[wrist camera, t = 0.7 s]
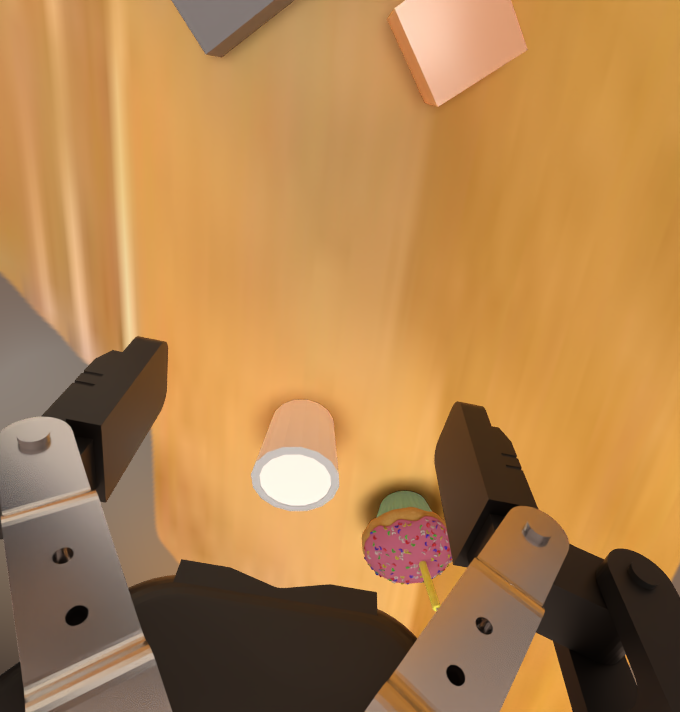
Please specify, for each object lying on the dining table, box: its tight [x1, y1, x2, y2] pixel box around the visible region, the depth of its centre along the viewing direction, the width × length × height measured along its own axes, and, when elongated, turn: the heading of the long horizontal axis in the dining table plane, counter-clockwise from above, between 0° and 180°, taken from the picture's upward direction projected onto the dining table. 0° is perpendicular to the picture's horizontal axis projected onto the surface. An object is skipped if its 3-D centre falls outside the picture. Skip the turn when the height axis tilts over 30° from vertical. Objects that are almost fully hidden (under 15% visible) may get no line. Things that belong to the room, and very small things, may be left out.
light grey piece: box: [251, 399, 339, 511], centre depth 40 cm, size 7×7×7 cm
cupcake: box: [362, 491, 452, 611], centre depth 43 cm, size 9×8×12 cm
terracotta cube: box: [387, 0, 528, 107], centre depth 26 cm, size 5×5×5 cm
